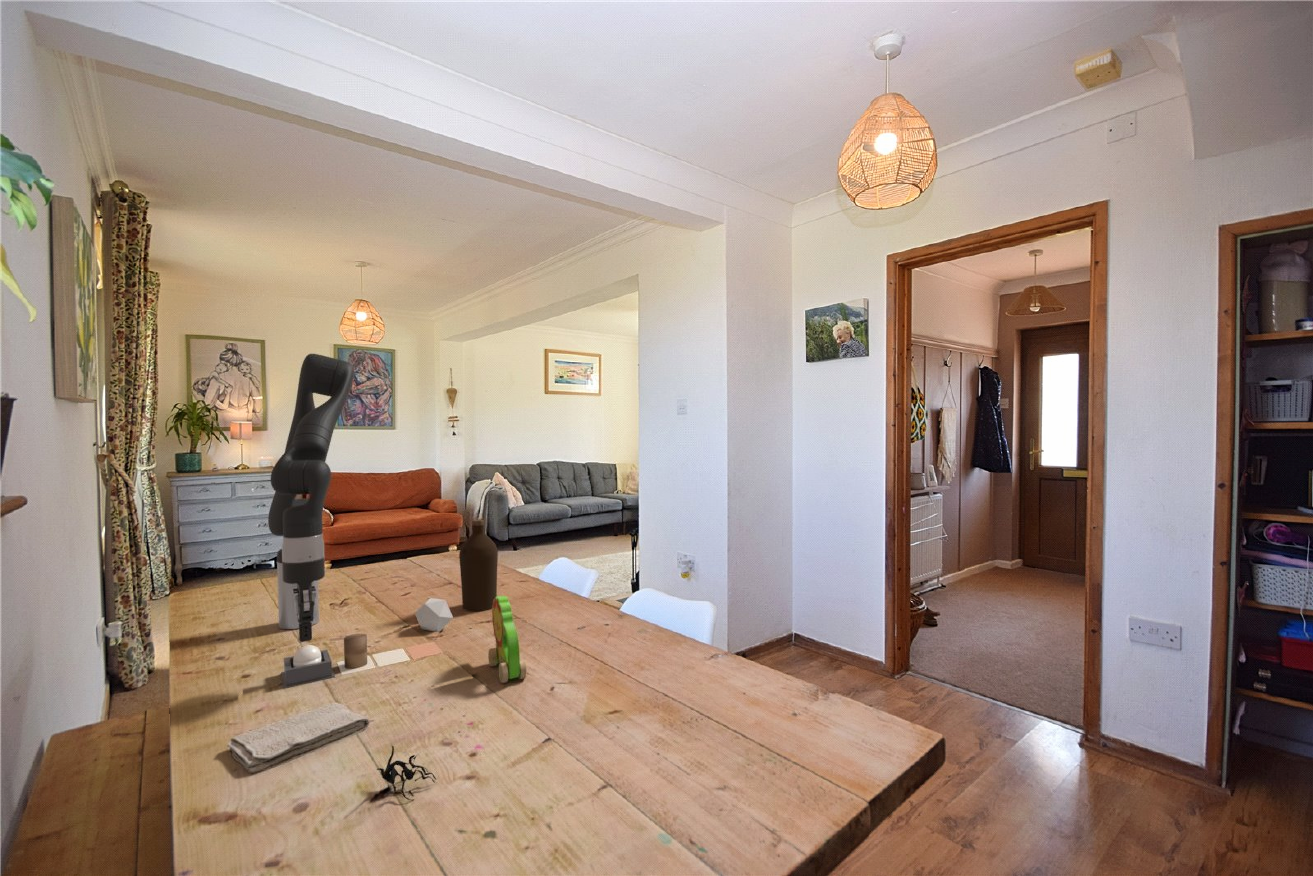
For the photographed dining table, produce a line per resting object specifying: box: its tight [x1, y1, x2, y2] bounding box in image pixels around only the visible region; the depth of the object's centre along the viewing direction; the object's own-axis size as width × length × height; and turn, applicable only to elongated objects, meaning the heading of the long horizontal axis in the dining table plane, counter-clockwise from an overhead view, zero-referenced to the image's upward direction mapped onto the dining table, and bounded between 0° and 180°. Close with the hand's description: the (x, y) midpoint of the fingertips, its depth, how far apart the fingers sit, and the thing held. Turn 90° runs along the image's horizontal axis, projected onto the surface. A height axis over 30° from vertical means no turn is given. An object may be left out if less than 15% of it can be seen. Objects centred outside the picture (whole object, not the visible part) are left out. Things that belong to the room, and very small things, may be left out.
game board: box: [336, 641, 444, 676], centre depth 132 cm, size 10×22×1 cm, turn 124°
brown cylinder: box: [343, 633, 368, 669], centre depth 128 cm, size 4×4×6 cm
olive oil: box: [458, 518, 499, 612], centre depth 172 cm, size 11×11×25 cm
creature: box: [376, 745, 437, 802], centre depth 86 cm, size 8×5×8 cm
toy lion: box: [487, 595, 527, 684], centre depth 127 cm, size 16×5×15 cm, turn 27°
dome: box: [293, 644, 321, 668], centre depth 123 cm, size 5×5×6 cm
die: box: [414, 597, 454, 633], centre depth 152 cm, size 8×9×10 cm
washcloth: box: [226, 702, 370, 774], centre depth 99 cm, size 12×18×3 cm, turn 142°
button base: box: [280, 649, 336, 689], centre depth 123 cm, size 9×9×4 cm
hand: (305, 640), depth 123 cm, fingers closed
